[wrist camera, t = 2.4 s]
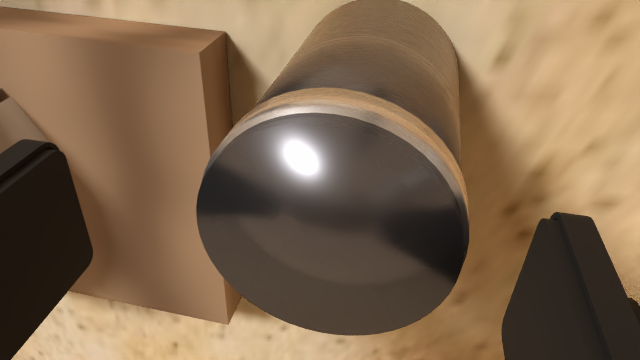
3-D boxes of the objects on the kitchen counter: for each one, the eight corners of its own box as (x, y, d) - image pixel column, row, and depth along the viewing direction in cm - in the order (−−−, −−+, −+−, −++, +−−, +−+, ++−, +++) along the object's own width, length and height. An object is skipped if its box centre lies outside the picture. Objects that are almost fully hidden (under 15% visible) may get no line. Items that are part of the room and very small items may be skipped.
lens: (479, 2, 14) (503, 143, 7) (445, 160, 17) (440, 360, 10) (298, -15, 14) (174, 98, 8) (296, 138, 17) (205, 311, 11)
